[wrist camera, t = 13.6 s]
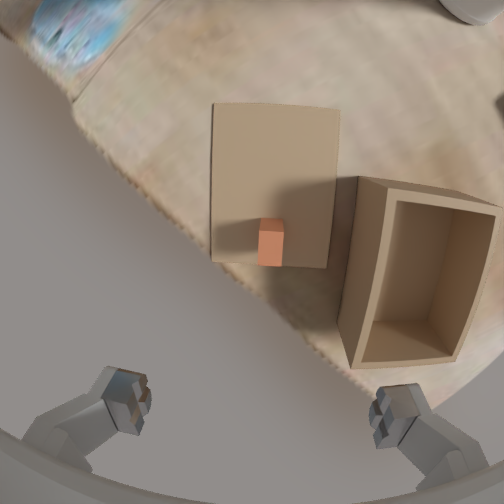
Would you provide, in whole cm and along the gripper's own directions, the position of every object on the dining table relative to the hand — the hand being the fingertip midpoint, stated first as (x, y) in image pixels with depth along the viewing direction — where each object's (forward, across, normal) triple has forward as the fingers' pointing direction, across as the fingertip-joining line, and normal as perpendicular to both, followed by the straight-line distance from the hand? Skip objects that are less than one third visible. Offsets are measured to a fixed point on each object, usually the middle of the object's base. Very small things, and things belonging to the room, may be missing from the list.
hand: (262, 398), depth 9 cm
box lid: (+22, 0, -4) cm, 22 cm away
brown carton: (+21, -14, +3) cm, 25 cm away
